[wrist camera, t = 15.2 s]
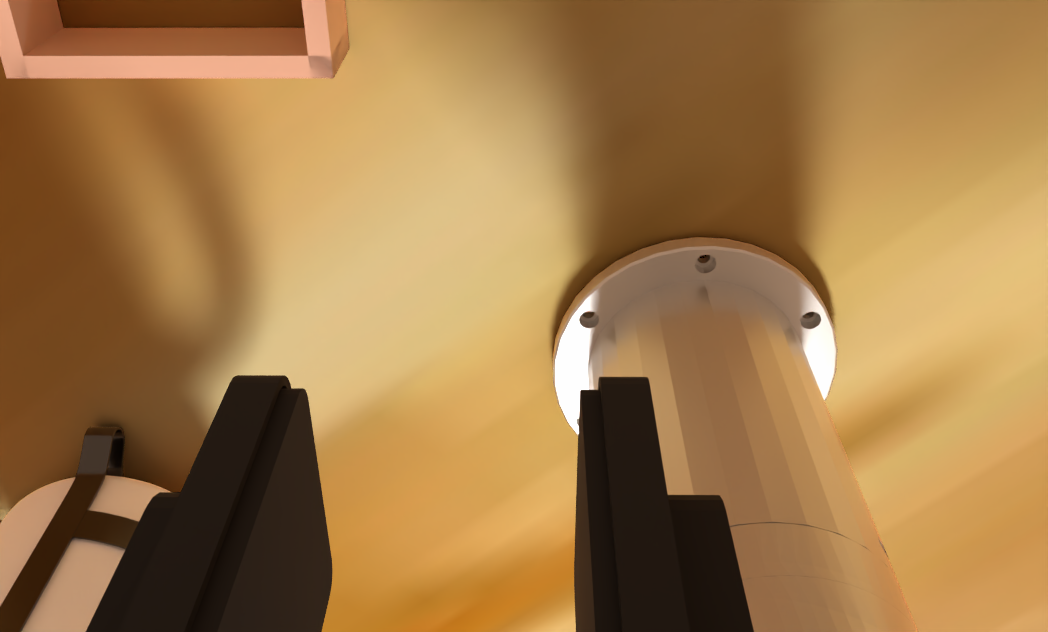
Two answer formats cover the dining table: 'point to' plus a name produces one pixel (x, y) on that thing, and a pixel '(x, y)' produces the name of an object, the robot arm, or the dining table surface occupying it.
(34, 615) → the lantern
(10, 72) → the planter frame
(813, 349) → the robot arm
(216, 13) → the dining table surface
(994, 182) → the dining table surface
